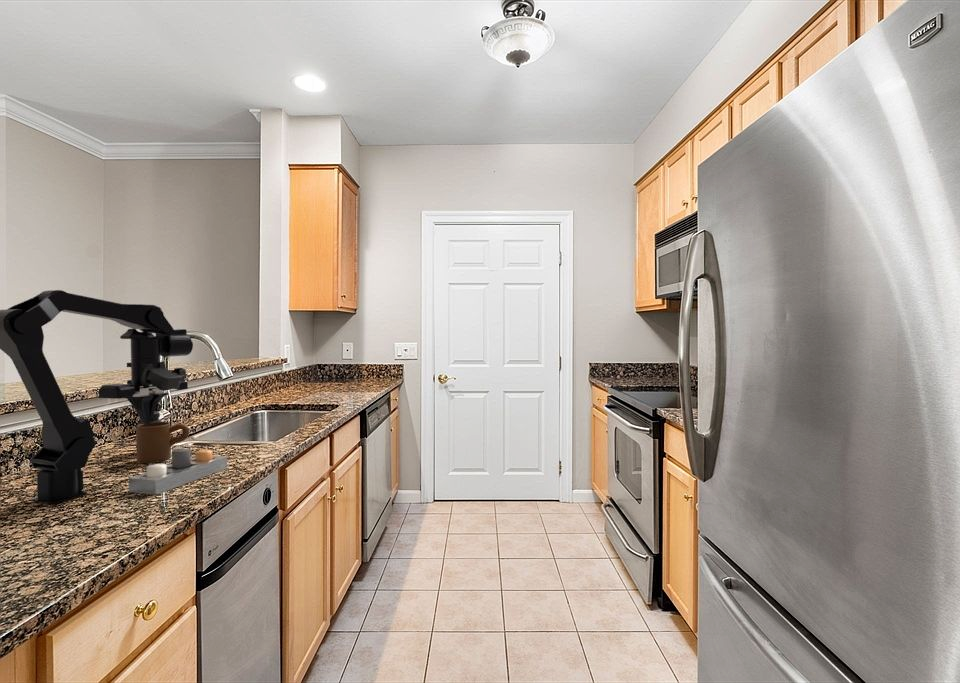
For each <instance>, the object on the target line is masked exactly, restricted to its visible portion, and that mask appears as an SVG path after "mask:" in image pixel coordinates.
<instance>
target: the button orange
mask: <svg viewBox="0 0 960 683" xmlns="http://www.w3.org/2000/svg"><path fill="white" fill-rule="evenodd" d="M194 453H195V456H194V457H195V461H197V462H206V461H209V460H212V459H213V457H212V455H213V450H212V449H201V450H197V451H195V452H194Z"/></svg>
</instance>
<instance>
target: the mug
mask: <svg viewBox="0 0 960 683" xmlns="http://www.w3.org/2000/svg"><path fill="white" fill-rule="evenodd" d="M178 430H182V433H181V435H178V436H173V437H172V436H171V435H172V433H174V432H177V431H178ZM189 436H190V428H189V426H188V425H186V424H184V423H176V424H173V425H171V423H170V422H169V421H166V422H165V421H162V422H153V423H150V424H140V425H138V426H137V425H136V432H135V442H136V444H135V445H136V447H135V449H136V450H135V451H136V460H137V462H138V463H139V464H152V463H153V464H156V463H160V462H164V461H167V460H169V459H170V458H171V456H172V447H173V446H174V445H175V444H179V443H182V442H184V441H185V440H187V438H188V437H189Z"/></svg>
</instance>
